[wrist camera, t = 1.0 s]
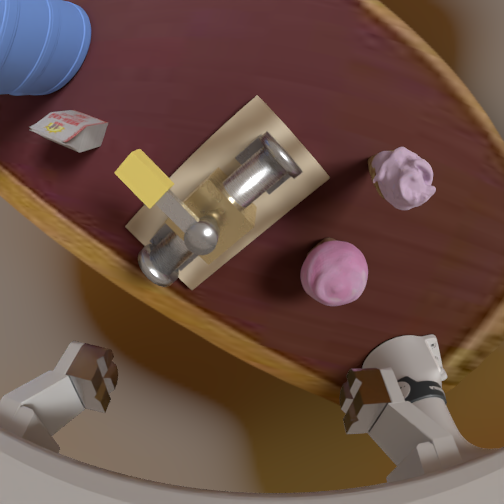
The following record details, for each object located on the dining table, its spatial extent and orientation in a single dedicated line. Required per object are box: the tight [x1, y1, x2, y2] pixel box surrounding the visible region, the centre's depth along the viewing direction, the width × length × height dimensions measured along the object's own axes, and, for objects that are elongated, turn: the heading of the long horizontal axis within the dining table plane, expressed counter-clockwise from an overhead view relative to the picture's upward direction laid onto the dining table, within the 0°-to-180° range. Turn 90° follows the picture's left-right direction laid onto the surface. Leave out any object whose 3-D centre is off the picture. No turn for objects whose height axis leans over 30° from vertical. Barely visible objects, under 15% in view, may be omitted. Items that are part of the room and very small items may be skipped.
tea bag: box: [30, 110, 108, 153], centre depth 34 cm, size 4×7×10 cm, turn 64°
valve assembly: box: [125, 95, 330, 290], centre depth 37 cm, size 14×26×12 cm, turn 132°
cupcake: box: [300, 238, 368, 306], centre depth 41 cm, size 9×9×10 cm
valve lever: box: [115, 149, 220, 255], centre depth 29 cm, size 12×3×2 cm, turn 42°
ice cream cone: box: [368, 147, 436, 210], centre depth 32 cm, size 7×6×15 cm
